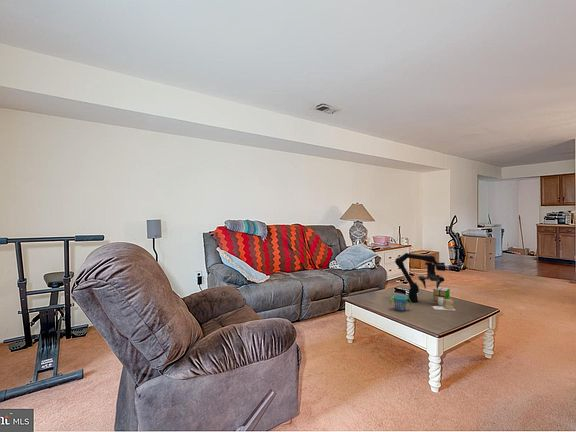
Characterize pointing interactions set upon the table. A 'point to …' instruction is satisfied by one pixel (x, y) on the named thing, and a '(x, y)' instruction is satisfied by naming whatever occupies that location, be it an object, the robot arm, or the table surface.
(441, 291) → the puzzle cube
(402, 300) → the snack cup
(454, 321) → the table surface
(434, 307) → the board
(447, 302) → the maple block
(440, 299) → the ceramic cylinder
